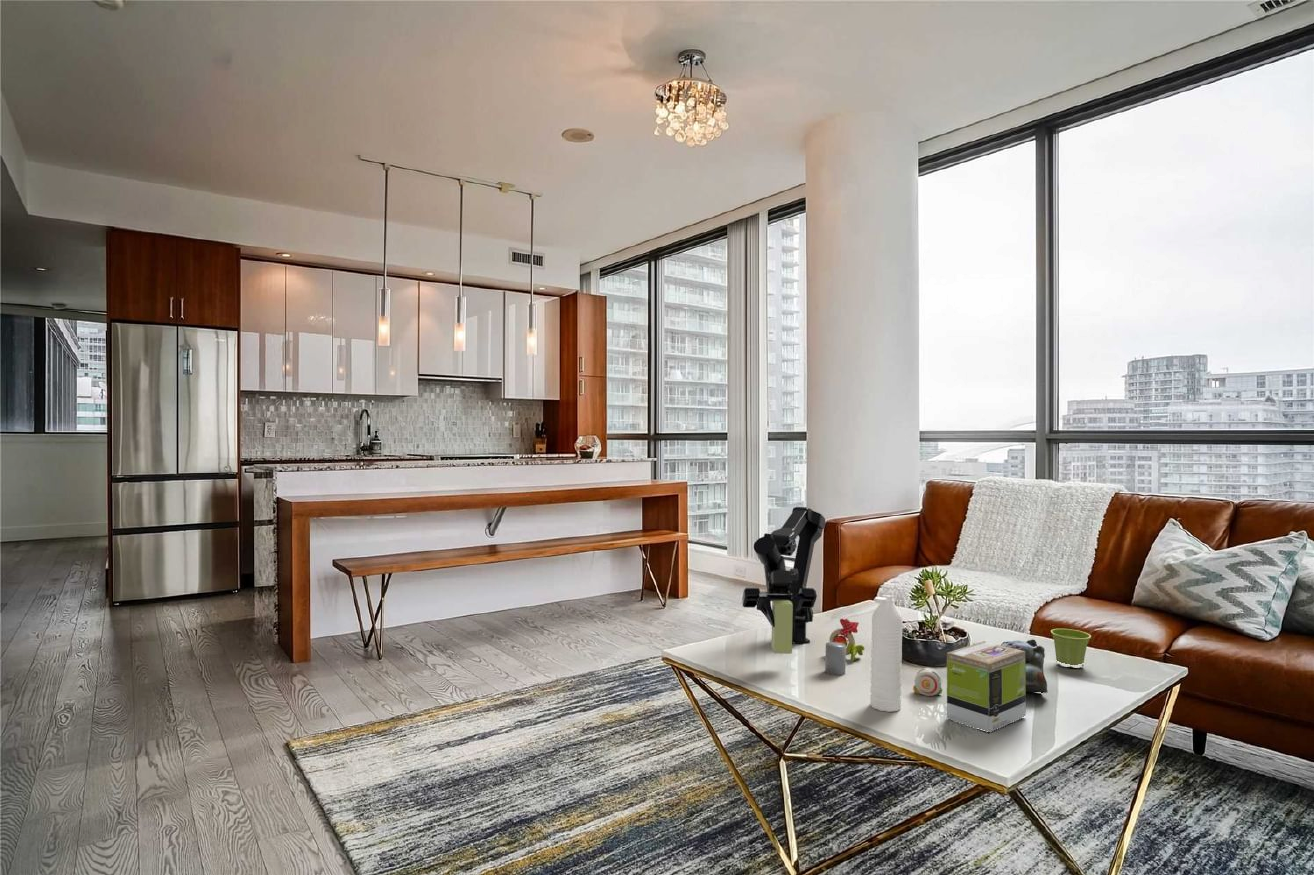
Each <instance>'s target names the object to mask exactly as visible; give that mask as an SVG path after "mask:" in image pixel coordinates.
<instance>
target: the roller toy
mask: <svg viewBox="0 0 1314 875" xmlns="http://www.w3.org/2000/svg"><path fill="white" fill-rule="evenodd" d="M942 683H943V680H942V677H941V675H940V674H939V672H938V671H937V670H936V669H934V668H932V667H931V668H930V667H924V668H921V669H919V670H918V672H917V673H916V675H915V678H914V685H913V688H912V690H913V691H914V693H915V694H917V693H918V694H917V695H920V694H921V695H923V696H926V697H932V696H933V697H934V696H937V695H940V694H942V692H943V688H942Z"/></svg>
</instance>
